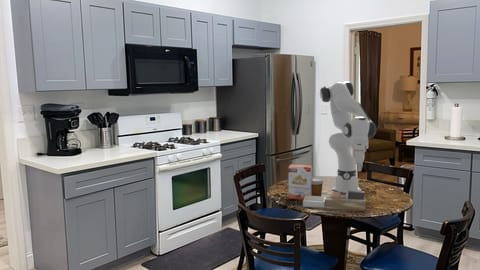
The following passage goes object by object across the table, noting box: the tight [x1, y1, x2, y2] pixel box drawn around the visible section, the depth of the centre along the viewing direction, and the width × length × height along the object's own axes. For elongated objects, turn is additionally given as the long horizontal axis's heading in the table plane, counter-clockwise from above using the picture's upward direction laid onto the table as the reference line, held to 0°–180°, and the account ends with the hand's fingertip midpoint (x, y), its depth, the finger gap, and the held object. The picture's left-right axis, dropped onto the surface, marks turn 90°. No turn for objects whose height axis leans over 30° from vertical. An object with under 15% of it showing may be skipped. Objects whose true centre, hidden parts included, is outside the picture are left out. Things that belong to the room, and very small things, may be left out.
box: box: [302, 195, 326, 209], centre depth 237 cm, size 12×12×4 cm
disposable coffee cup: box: [312, 177, 324, 196], centre depth 249 cm, size 10×10×12 cm
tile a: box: [332, 191, 342, 197], centre depth 236 cm, size 4×4×2 cm
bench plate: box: [324, 193, 366, 212], centre depth 232 cm, size 12×22×5 cm, turn 74°
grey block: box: [345, 190, 366, 201], centre depth 230 cm, size 12×10×4 cm
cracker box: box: [288, 164, 314, 201], centre depth 249 cm, size 14×6×21 cm, turn 67°
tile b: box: [332, 193, 340, 200], centre depth 231 cm, size 4×4×2 cm
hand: (360, 169), depth 227 cm, fingers open, 8 cm apart
